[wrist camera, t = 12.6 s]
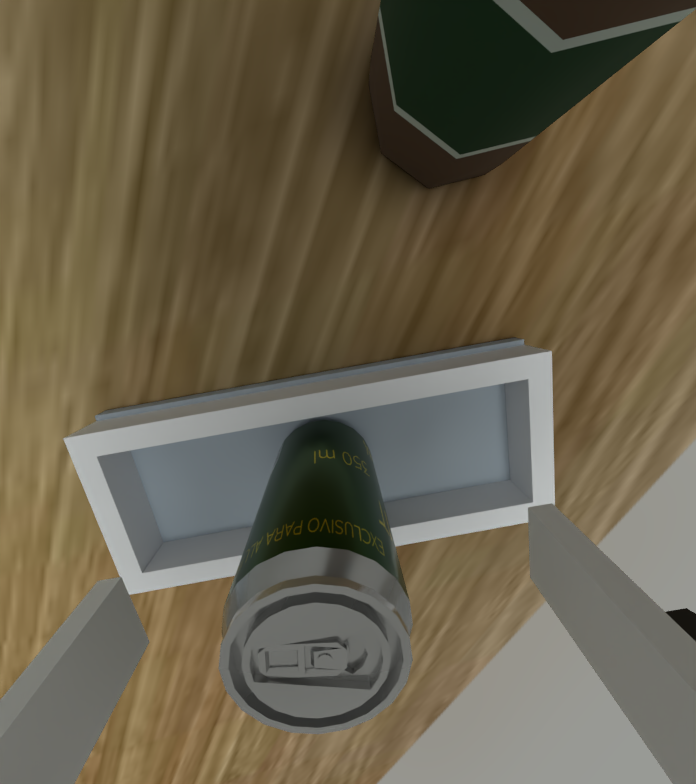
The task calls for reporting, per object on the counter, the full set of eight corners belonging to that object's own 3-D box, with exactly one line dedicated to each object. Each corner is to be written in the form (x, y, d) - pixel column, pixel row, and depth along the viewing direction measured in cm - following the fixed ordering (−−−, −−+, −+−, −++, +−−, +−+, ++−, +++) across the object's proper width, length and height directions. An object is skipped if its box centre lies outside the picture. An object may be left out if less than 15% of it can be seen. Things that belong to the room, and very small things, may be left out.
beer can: (281, 500, 21) (218, 745, 9) (276, 416, 20) (198, 579, 8) (369, 499, 21) (416, 734, 10) (371, 414, 20) (427, 571, 8)
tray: (106, 410, 20) (60, 432, 17) (514, 337, 20) (551, 344, 17) (159, 554, 23) (129, 599, 19) (521, 489, 23) (555, 522, 19)
